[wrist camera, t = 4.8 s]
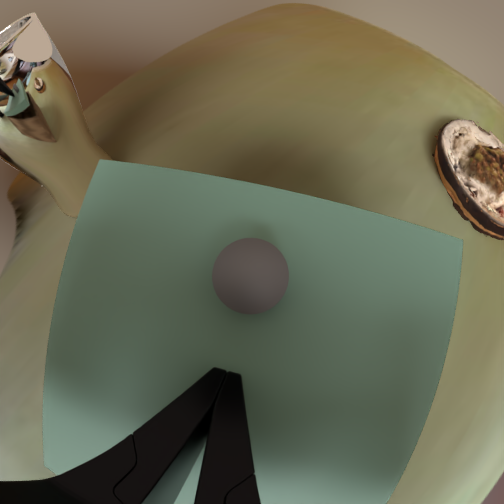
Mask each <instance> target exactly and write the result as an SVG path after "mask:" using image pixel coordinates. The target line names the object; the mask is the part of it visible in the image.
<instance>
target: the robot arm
mask: <svg viewBox="0 0 504 504" xmlns="http://www.w3.org/2000/svg"><path fill="white" fill-rule="evenodd" d="M205 443H206V445H205ZM204 445H205V450H204V455H203V460H202V465H201V470H200V475H199V480H198V485H197V490H196V495H195V500H194V504H261V501H260V496H259V491H258V486H257V480H256V475H255V468H254V461H253V455H252V448H251V441H250V434H249V427H248V420H247V413H246V405H245V398H244V390H243V383H242V376H241V374H239V373H236V372H232V371H228V372H227V371H226V370H225V369H221V368H218V367H213V368H212V369H210V370H209V371H208V372H207V373H206V374H205V375H203V376H202V377H201V378H200V379H199V380H198V381H196V382H195V383H194V384H193V385H192V386H190V387H189V388H188V389H187V390H186V391H184V392H183V393H182V394H181V395H179V396H178V397H177V398H176V399H175V400H173V401H172V402H171V403H170V404H168V405H167V406H166V407H165V408H163V409H162V410H161V411H160V412H158V413H157V414H156V415H155V416H153V417H152V418H151V419H149V420H148V421H147V422H146V423H144V424H143V425H142V426H140V427H139V428H138V429H136V430H135V431H134V432H133V434H130V435H128V436H127V437H126V438H124V439H123V440H122V441H120V442H119V443H117V444H116V445H114V446H113V447H112V448H110V449H109V450H107V451H105V452H103V453H102V454H100V455H98V456H96V457H95V458H93V459H91V460H89V461H87V462H85V463H83V464H81V465H79V466H77V467H75V468H73V469H71V470H68V471H66V472H64V473H62V474H60V475H57V476H55V477H51V478H48V479H42V480H31V481H0V504H174V502H175V500H176V499H177V497H178V495H179V493H180V491H181V489H182V487H183V485H184V484H185V482H186V480H187V478H188V476H189V474H190V472H191V470H192V468H193V466H194V464H195V462H196V460H197V458H198V456H199V454H200V452H201V451H202V449H203V447H204Z"/></svg>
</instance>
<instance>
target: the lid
mask: <svg viewBox="0 0 504 504" xmlns="http://www.w3.org/2000/svg"><path fill="white" fill-rule="evenodd" d="M462 250H463V240H461V239H459V238H456V237H453V236H450V235H447V234H444V233H441V232H438V231H435V230H431V229H428V228H425V227H422V226H419V225H416V224H412V223H409V222H406V221H402V220H399V219H396V218H392V217H389V216H385V215H382V214H378V213H375V212H371V211H368V210H364V209H360V208H357V207H353V206H349V205H345V204H341V203H337V202H333V201H330V200H325V199H321V198H317V197H313V196H309V195H305V194H300V193H296V192H292V191H287V190H283V189H278V188H274V187H269V186H264V185H259V184H255V183H250V182H245V181H240V180H234V179H229V178H224V177H218V176H213V175H207V174H201V173H196V172H190V171H183V170H177V169H171V168H164V167H157V166H150V165H143V164H135V163H128V162H120V161H111V160H102V159H100V160H99V162H98V165H97V167H96V169H95V172H94V174H93V177H92V179H91V182H90V184H89V187H88V189H87V192H86V195H85V197H84V200H83V203H82V206H81V209H80V212H79V214H78V217H77V220H76V224H75V227H74V230H73V233H72V236H71V240H70V243H69V246H68V250H67V253H66V257H65V261H64V265H63V269H62V273H61V277H60V281H59V285H58V290H57V294H56V299H55V304H54V309H53V315H52V321H51V327H50V333H49V340H48V348H47V356H46V365H45V376H44V391H43V454H44V466H45V467H46V468H48V469H49V470H51V471H52V472H53V473H55V474H56V475H60V474H62V473H64V472H66V471H68V470H71V469H73V468H75V467H77V466H79V465H81V464H83V463H85V462H87V461H89V460H91V459H93V458H95V457H96V456H98V455H100V454H102V453H103V452H105V451H107V450H109V449H110V448H112V447H113V446H114V445H116V444H117V443H119V442H120V441H122V440H123V439H124V438H126V437H127V436H128V435H130V434H133V432H134V431H135V430H136V429H138V428H139V427H140V426H142V425H143V424H144V423H146V422H147V421H148V420H149V419H151V418H152V417H153V416H155V415H156V414H157V413H158V412H160V411H161V410H162V409H163V408H165V407H166V406H167V405H168V404H170V403H171V402H172V401H173V400H175V399H176V398H177V397H178V396H179V395H181V394H182V393H183V392H184V391H186V390H187V389H188V388H189V387H190V386H192V385H193V384H194V383H195V382H196V381H198V380H199V379H200V378H201V377H202V376H203V375H205V374H206V373H207V372H208V371H209V370H210V369H212V368H213V367H218V368H221V369H225V370H226V371H227V372H228V371H232V372H236V373H239V374H241V376H242V383H243V390H244V398H245V405H246V413H247V420H248V427H249V434H250V441H251V448H252V455H253V461H254V468H255V475H256V480H257V486H258V491H259V496H260V501H261V504H387V502H388V500H389V498H390V497H391V495H392V493H393V491H394V489H395V488H396V486H397V484H398V482H399V480H400V478H401V476H402V474H403V472H404V470H405V468H406V466H407V464H408V462H409V460H410V457H411V455H412V453H413V451H414V449H415V446H416V444H417V442H418V439H419V437H420V434H421V432H422V429H423V427H424V424H425V421H426V419H427V416H428V413H429V411H430V408H431V405H432V402H433V399H434V396H435V393H436V390H437V386H438V383H439V380H440V376H441V373H442V369H443V365H444V361H445V358H446V353H447V349H448V345H449V341H450V336H451V331H452V326H453V321H454V315H455V310H456V303H457V297H458V290H459V282H460V273H461V263H462ZM205 445H206V443H205ZM205 445H204V447H203V449H202V451H201V452H200V454H199V456H198V458H197V460H196V462H195V464H194V466H193V468H192V470H191V472H190V474H189V476H188V478H187V480H186V482H185V484H184V485H183V487H182V489H181V491H180V493H179V495H178V497H177V499H176V500H175V502H174V504H194V500H195V495H196V490H197V485H198V480H199V475H200V470H201V465H202V460H203V455H204V450H205Z"/></svg>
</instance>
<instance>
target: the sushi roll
mask: <svg viewBox="0 0 504 504" xmlns="http://www.w3.org/2000/svg"><path fill="white" fill-rule="evenodd" d="M477 123H479V122H477ZM489 132H490V133H491V134H489V133H488V132H487V131H485V130H484V129H482V128H481V127H480V126H479V127H477V125H476V124H475V122H474V121H472V120H463V119H462V120H460V119H457V120H453V121H450V122H449V123H447V124H445V125H444V126H443V127H442V128H441V129H440V130H439V133H438V136H435V137H436V138H437V144H436V149H435V154H433V155H432V156H434V157H435V162H436V164H437V166H438V172H439V174H440V178H441V180H442V182H443V184H444V186H445V188H446V189H447V192H448V194H449V196H450V197H451V199H452V201H453V206H454V208H455V209H456V210H457V211H458V213H459V214H460V215H461V217H462V218H463V219H464V220H467V221H468V220H469V221H470V223H471V225H472V226H473V228H474V229H475V230H477V231H478V232H480V233H483V234H484V235H485V234H486V235H489V236H491V237H492V238H496V239H499V240H500V239H501V240H504V239H503V238H504V149H503V148H502V146H503V147H504V145H503V144H502V143H501V142H500V141H499V139H498V138H497V137H496V136H495V135H494V134H493V133H492V132H491V131H489ZM498 142H499V143H498ZM486 237H487V236H486Z"/></svg>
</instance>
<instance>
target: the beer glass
mask: <svg viewBox="0 0 504 504" xmlns="http://www.w3.org/2000/svg"><path fill="white" fill-rule="evenodd" d="M0 159H2V160H3V161H4V162H6V163H7V164H9V165H11V166H12V167H14V168H15V169H17V170H18V171H20V172H22V173H23V174H25V175H27V176H28V177H30V178H31V179H33V180H34V181H36V182H38V183H39V184H40V185H41V186H42V187H44V188H45V189H46V190H47V191H48V192H49V194H50V195H51V196H52V198H53V199H54V201H55V202H56V204H57V206H58V207H59V208H60V210H61V211H62V212H63V213H64V214H65V215H67V216H70V217H78V214H79V212H80V209H81V206H82V203H83V200H84V197H85V195H86V192H87V189H88V187H89V184H90V182H91V179H92V177H93V174H94V172H95V169H96V167H97V165H98V162H99V160H100V159H102V160H111V161H114V160H113V159H112V158H111V157H110V156H109V155H108V154H107V153H105V152H104V151H103V150H102V149H101V148H100V147H99V146H98V144H97V143H96V142H95V140H94V138H93V137H92V135H91V133H90V130H89V128H88V125H87V122H86V119H85V116H84V113H83V110H82V107H81V104H80V101H79V98H78V95H77V92H76V89H75V87H74V84H73V81H72V78H71V76H70V74H69V72H68V70H67V68H66V65H65V63H64V61H63V59H62V57H61V56H60V54H59V52H58V50H57V48H56V47H55V45H54V43H53V42H52V40H51V39H50V37H49V35H48V34H47V32H46V30H45V29H44V27H43V26H42V24H41V23H40V21H39V19H38V17H37V15H36V13H30V14H28V15H26V16H24V17H22V18H21V19H18V20H17V21H15V22H14V23H12V24H11V25H9V26H8V27H6V28H5V29H3V30H2V31H1V32H0Z"/></svg>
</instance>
